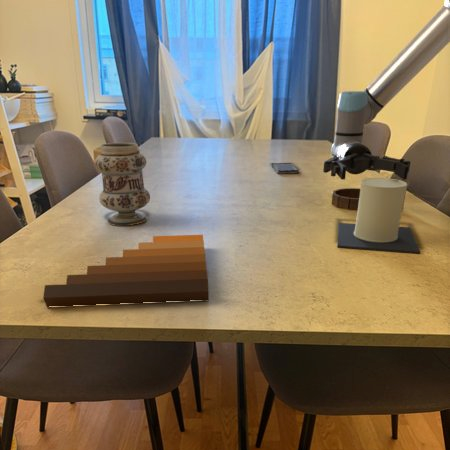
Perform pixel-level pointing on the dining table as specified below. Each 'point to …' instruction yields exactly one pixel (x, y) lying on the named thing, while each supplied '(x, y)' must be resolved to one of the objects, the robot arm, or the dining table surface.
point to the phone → (284, 168)
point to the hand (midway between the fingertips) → (374, 173)
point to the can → (379, 209)
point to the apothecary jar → (123, 182)
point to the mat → (348, 240)
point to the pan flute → (140, 276)
